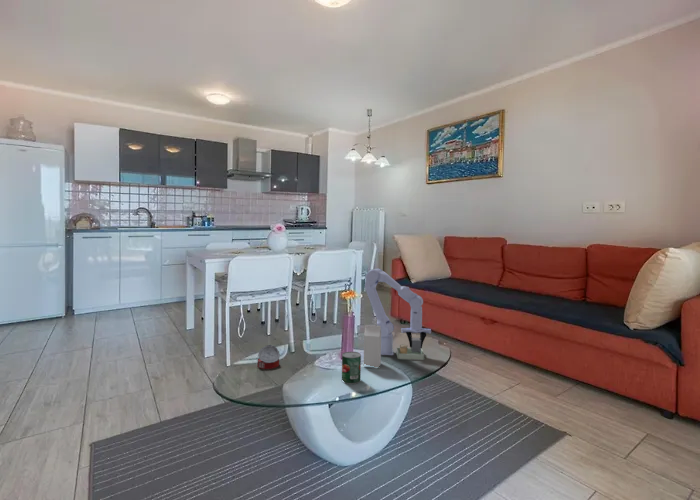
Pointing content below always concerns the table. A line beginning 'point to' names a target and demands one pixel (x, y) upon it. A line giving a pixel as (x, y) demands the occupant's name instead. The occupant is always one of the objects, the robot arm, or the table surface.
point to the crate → (410, 355)
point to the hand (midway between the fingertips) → (415, 347)
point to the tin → (416, 345)
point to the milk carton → (372, 345)
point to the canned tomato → (351, 367)
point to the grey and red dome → (268, 357)
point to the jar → (403, 349)
